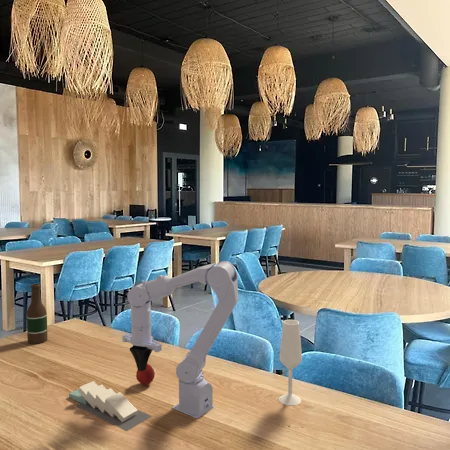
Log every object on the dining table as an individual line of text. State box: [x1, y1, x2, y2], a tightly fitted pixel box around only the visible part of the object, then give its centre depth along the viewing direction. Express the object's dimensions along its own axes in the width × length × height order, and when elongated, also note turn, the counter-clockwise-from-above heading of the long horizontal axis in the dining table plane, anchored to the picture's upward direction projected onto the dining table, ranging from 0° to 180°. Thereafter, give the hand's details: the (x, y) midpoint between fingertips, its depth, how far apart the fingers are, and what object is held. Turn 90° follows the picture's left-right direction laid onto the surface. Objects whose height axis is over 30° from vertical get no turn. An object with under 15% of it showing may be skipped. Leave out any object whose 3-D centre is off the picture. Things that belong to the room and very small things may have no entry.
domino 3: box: [87, 384, 107, 413], centre depth 125 cm, size 2×5×8 cm
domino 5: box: [105, 391, 139, 422], centre depth 120 cm, size 2×5×8 cm
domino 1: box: [68, 388, 88, 405], centre depth 130 cm, size 2×5×8 cm
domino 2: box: [77, 380, 99, 409], centre depth 127 cm, size 2×5×8 cm
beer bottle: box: [26, 283, 48, 345], centre depth 178 cm, size 8×8×24 cm
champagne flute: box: [278, 319, 303, 406], centre depth 128 cm, size 7×7×24 cm
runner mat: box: [75, 403, 152, 432], centre depth 122 cm, size 22×9×1 cm, turn 54°
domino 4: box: [95, 387, 117, 418], centre depth 122 cm, size 2×5×8 cm
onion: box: [135, 363, 156, 387], centre depth 138 cm, size 6×6×8 cm
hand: (141, 369), depth 127 cm, fingers closed
